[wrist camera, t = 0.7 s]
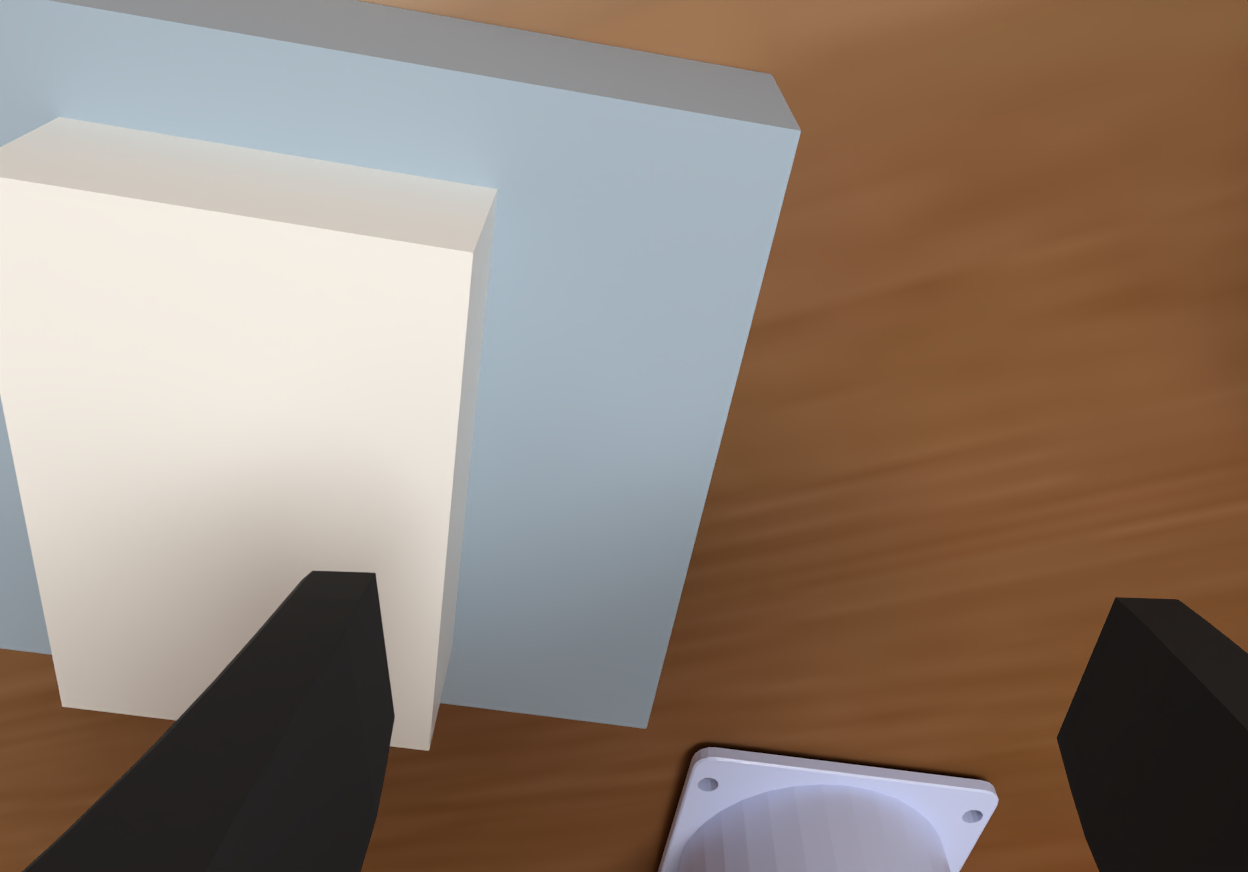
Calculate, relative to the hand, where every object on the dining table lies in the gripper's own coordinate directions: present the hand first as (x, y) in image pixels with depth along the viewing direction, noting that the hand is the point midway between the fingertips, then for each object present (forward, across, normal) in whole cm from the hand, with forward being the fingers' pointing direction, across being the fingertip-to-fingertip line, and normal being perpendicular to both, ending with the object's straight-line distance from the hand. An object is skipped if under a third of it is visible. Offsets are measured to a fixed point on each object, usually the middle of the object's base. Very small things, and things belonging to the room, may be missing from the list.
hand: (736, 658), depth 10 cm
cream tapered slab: (+5, +7, +2) cm, 9 cm away
